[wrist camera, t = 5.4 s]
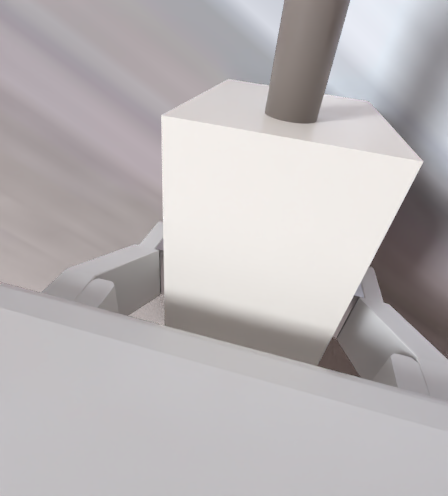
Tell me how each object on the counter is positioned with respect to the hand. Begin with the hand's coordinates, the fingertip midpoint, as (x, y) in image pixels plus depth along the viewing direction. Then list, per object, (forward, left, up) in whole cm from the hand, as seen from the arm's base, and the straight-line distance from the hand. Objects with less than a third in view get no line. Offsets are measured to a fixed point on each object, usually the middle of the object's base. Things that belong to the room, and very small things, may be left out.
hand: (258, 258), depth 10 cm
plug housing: (0, -2, -2) cm, 3 cm away
